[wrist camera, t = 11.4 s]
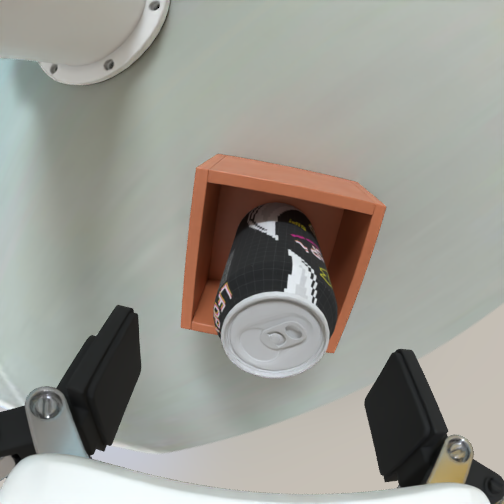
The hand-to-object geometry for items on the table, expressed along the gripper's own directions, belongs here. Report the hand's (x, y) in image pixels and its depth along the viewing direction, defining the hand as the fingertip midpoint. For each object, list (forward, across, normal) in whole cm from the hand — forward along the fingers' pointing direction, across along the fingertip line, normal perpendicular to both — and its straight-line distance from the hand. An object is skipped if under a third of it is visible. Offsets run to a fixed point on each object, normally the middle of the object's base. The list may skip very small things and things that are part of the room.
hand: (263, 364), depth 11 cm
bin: (+14, -1, +1) cm, 15 cm away
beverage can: (+14, -1, +1) cm, 14 cm away
